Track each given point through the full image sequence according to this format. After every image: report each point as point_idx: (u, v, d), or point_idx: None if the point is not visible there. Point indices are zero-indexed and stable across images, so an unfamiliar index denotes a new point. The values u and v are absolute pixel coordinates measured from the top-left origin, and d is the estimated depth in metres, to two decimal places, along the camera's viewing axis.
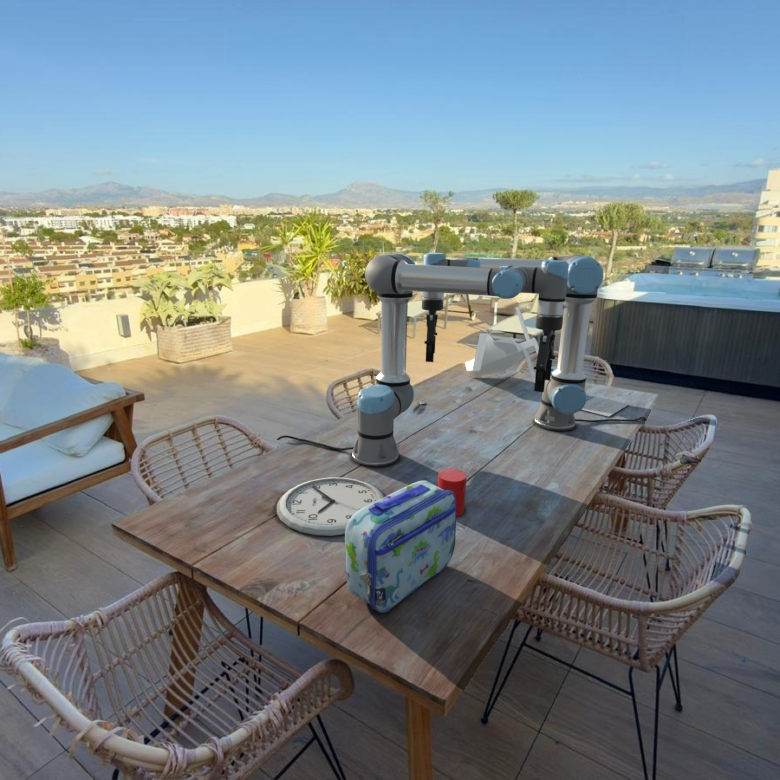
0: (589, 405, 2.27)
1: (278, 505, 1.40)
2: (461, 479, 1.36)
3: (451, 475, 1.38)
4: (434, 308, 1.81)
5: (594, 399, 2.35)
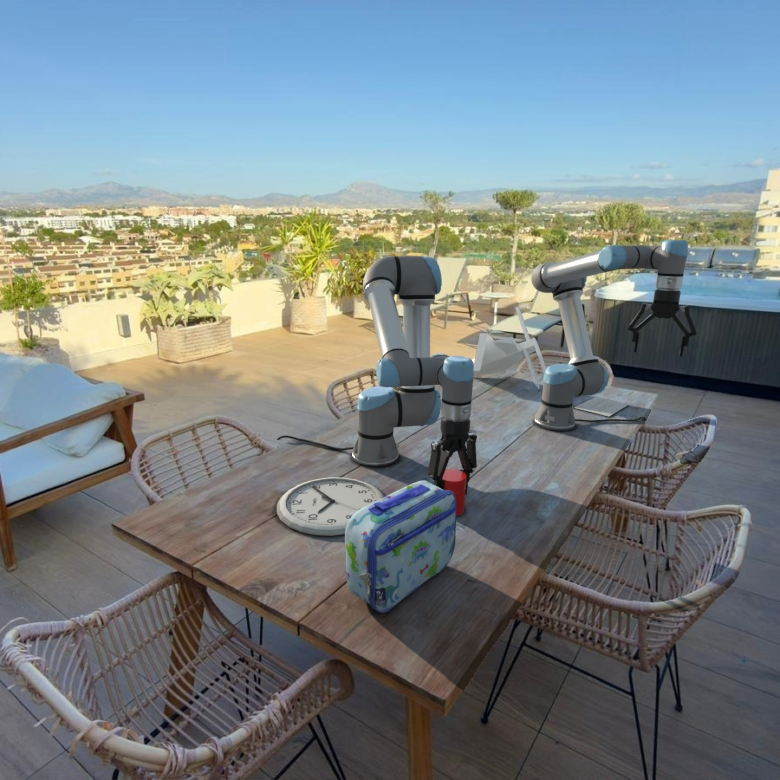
0: (589, 405, 2.27)
1: (278, 505, 1.40)
2: (461, 479, 1.36)
3: (451, 475, 1.38)
4: None
5: (594, 399, 2.35)
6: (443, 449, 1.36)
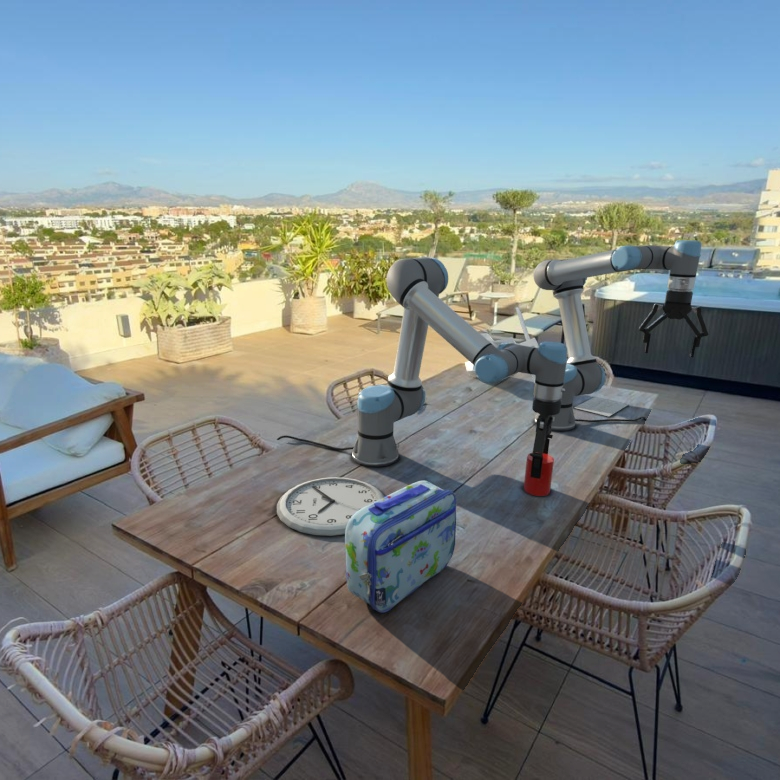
0: (589, 405, 2.27)
1: (278, 505, 1.40)
2: (552, 459, 1.49)
3: None
4: None
5: (594, 399, 2.35)
6: None
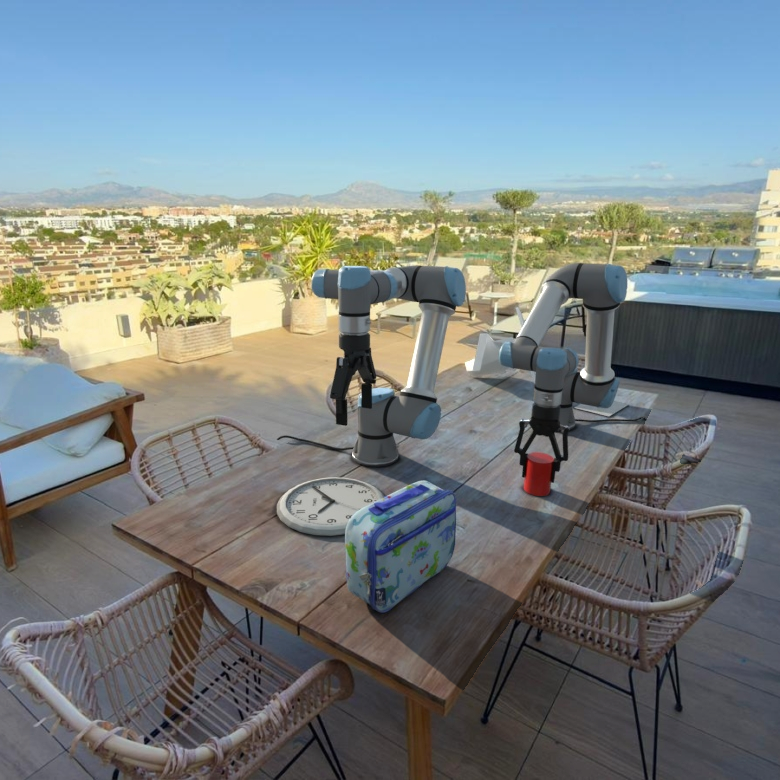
0: None
1: (278, 505, 1.40)
2: (552, 459, 1.49)
3: (540, 458, 1.50)
4: None
5: None
6: None
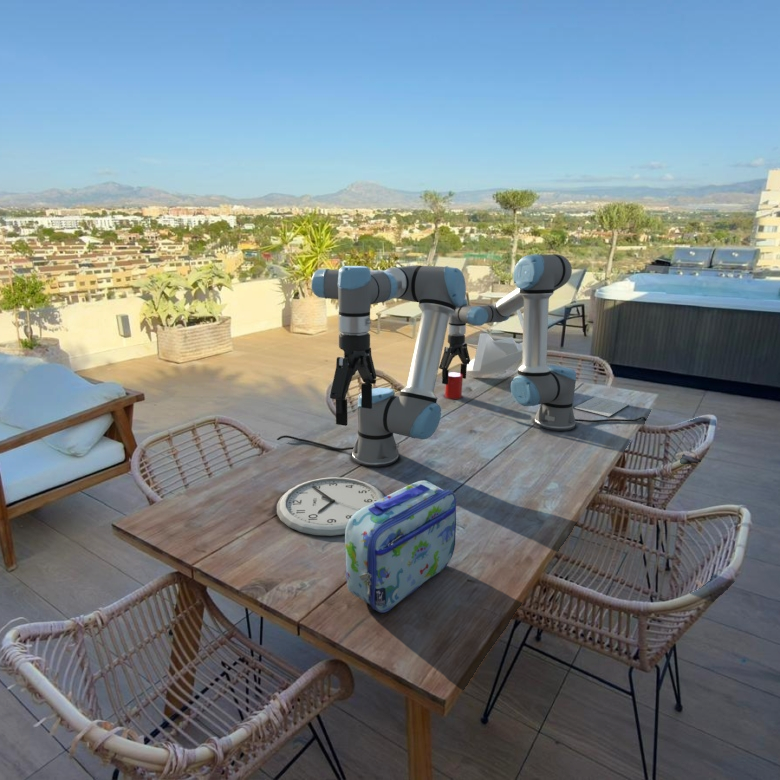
0: (589, 405, 2.27)
1: (278, 505, 1.40)
2: (450, 376, 2.31)
3: (453, 374, 2.34)
4: (452, 342, 2.26)
5: (594, 399, 2.35)
6: None
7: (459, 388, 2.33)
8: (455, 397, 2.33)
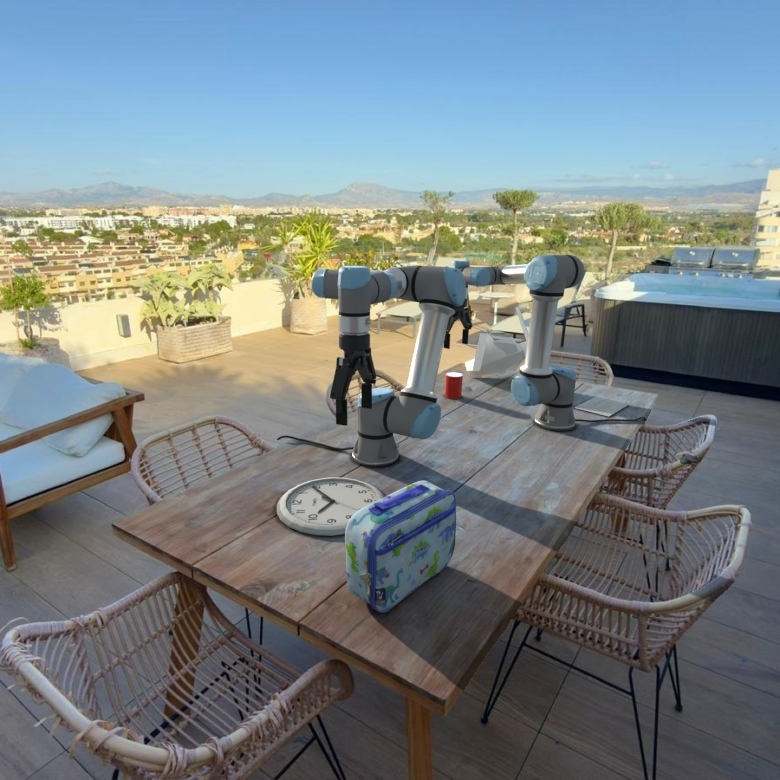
0: (589, 405, 2.27)
1: (278, 505, 1.40)
2: (450, 376, 2.31)
3: (453, 374, 2.34)
4: None
5: (594, 399, 2.35)
6: None
7: (459, 388, 2.33)
8: (455, 397, 2.33)
